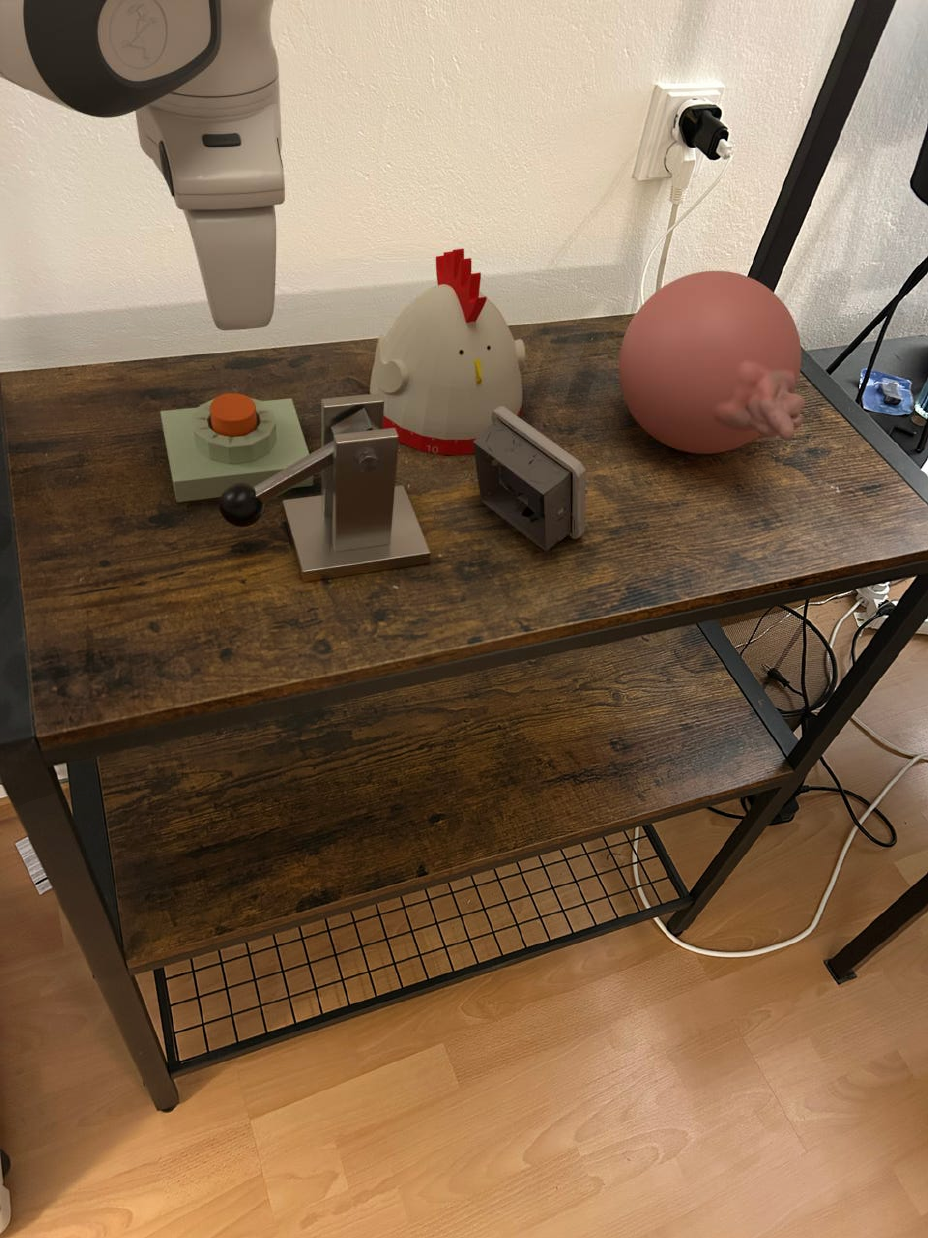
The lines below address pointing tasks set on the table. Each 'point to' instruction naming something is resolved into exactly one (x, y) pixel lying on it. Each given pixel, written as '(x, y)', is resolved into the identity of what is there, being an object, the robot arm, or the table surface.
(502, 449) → the electrical switch
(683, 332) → the balloon
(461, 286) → the kitchen timer
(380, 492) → the switch bracket
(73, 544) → the table surface
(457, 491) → the table surface
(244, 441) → the control block
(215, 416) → the button
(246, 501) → the switch lever
